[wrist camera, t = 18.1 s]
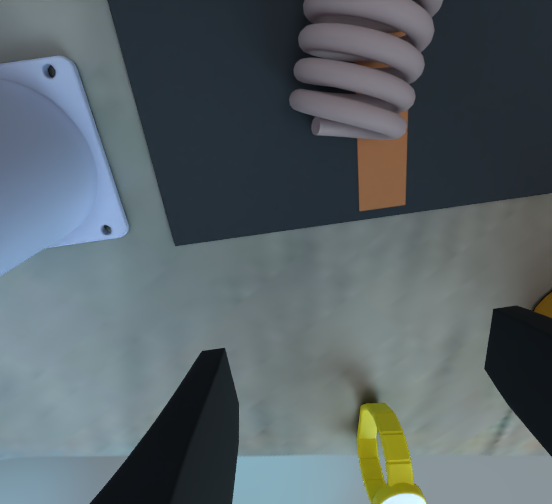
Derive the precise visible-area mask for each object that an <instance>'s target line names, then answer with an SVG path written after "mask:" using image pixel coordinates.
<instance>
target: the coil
mask: <svg viewBox="0 0 552 504" xmlns="http://www.w3.org/2000/svg"><path fill="white" fill-rule="evenodd" d="M442 2H443V0H417V1H416V2H414V1H412V0H304V4H303V10H304V15H305V16H306V18H307V19H308V20H309V21H310V22H311V23H313V24H311V25H307V26H306V27H305V28H304V29H303V30H302V31H301V32H300V34H299V37H298V41H299V46H300V48H301V49H302V51H304V52H305V53H308V54H310V55H313V56H316V57H320V58H303V59H300V60H299V61H298V62H297V63H296V64H295V66H294V69H293V70H294V76H295V77H296V79H297V80H298V81H300V82H303V83H307V84H313V85H321V86H329V87H335V88H339V89H344V90H348V91H352V92H356V93H360V94H342V93H330V92H321V91H313V90H306V89H296V90H294V91H293V92H292V93H291V95H290V98H289V102H290V105H291V107H292V108H293V109H294V110H297V111H299V112H302V113H305V114H309V115H312V116H316V117H315V118H314V119H313V121H312V125H311V130H312V133H313V134H314V135H320V136H336V137H349V138H362V139H376V140H395V139H398V138H401V137H402V136H403V135H404V134H405V132H406V129H407V124H406V120H405V119H404V118H403V117H401V116H400V115H399V114H397V113H401V112H404V111H407V110H408V109H409V108H410V107H411V106H412V105H413V104H414V101H415V97H416V96H415V91H414V89H413V88H412V87H411V86H410V85H409V84H410V83H413V82H414V81H416V80H417V79H418V78H419V77H420V75H421V74H422V72H423V69H424V65H425V63H424V58H423V55H422V54H421V52H422V51H423V50H424V49H425V48H426V47H427V46H428V45H429V44H430V42H431V41H432V37H433V34H434V25H433V20H432V17H433V16H434V15H435V14H436V13H437V12H438V11H439V9H440V7H441V5H442ZM400 31H402V32H403V33H405V34H406V35H404V36H402V37H396V36H394V35H391V34H388V33H395V32H400ZM324 58H325V59H324ZM344 61H348V62H344ZM349 62H380V63H383V64H385V65H388V66H390V67H384V68H370V67H366V66H362V65H358V64H354V63H349ZM361 94H364V95H361Z"/></svg>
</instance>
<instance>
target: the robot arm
mask: <svg viewBox="0 0 552 504" xmlns="http://www.w3.org/2000/svg"><path fill="white" fill-rule="evenodd" d="M51 65H52V66H53V67H54V69H55V71H56V75H55V77H53V78H52V77H50V75H49V73H48V68H49V66H51ZM104 225H108V226H109V227H110V228H111V229H112V232H107V231H106V230H105V228H104ZM128 230H129V225H128V222H127V219H126V216H125V213H124V210H123V206H122V203H121V200H120V197H119V194H118V191H117V188H116V185H115V182H114V179H113V176H112V173H111V170H110V167H109V164H108V161H107V158H106V155H105V152H104V149H103V146H102V142H101V139H100V136H99V133H98V130H97V127H96V124H95V121H94V118H93V115H92V112H91V109H90V106H89V103H88V100H87V97H86V94H85V91H84V88H83V85H82V82H81V79H80V75H79V72H78V69H77V67H76V65H75V64H74V63H73V61H72V60H70V59H68V58H66V57H63V56H51V57H44V58H37V59H30V60H23V61H16V62H9V63H2V64H0V276H1V275H3V274H5V273H6V272H8V271H9V270H11V269H13V268H14V267H16V266H17V265H19V264H21V263H22V262H24V261H26V260H27V259H29V258H30V257H32V256H34V255H35V254H37V253H38V252H40V251H42V250H43V249H45V248H49V247H56V246H63V245H71V244H78V243H85V242H92V241H99V240H106V239H113V238H120V237H123V236H124V235H125V234H126V233H127V232H128ZM484 369H485V370H486V372H487V374H488V375H489V377H490V378H491V380H492V381H493V383H494V385H495V386H496V388H497V389H498V391H499V392H500V394H501V395H502V396H503V398H504V399H505V401H506V402H507V404H508V405H509V406H510V408H511V409H512V410H513V411H514V413H515V414H516V415H517V416H518V417H519V419H520V420H521V421H522V422H523V423H524V425H525V426H526V427H527V428H528V429H529V431H530V432H531V433H532V434H533V435H534V437H535V438H536V439H537V440H538V441H539V442H540V444H541V445H542V446H543V447H544V448H545V449H546V451H547V452H548V453H549V454H550V455H551V456H552V318H550V317H547V316H545V315H542V314H539V313H537V312H534V311H531V310H528V309H525V308H522V307H519V306H511V307H504V308H497V309H493V315H492V322H491V328H490V335H489V341H488V348H487V354H486V361H485V368H484ZM238 444H239V402H238V398H237V394H236V390H235V386H234V382H233V378H232V374H231V370H230V366H229V362H228V358H227V354H226V350H225V348H220V349H213V350H206V351H202V352H201V353H200V355H199V356H198V358H197V359H196V361H195V362H194V364H193V365H192V367H191V369H190V370H189V372H188V373H187V375H186V376H185V378H184V379H183V381H182V382H181V384H180V385H179V387H178V389H177V390H176V392H175V393H174V395H173V396H172V397H171V399H170V400H169V402H168V403H167V405H166V406H165V408H164V409H163V410H162V412H161V413H160V415H159V416H158V418H157V419H156V420H155V422H154V423H153V425H152V426H151V427H150V429H149V430H148V431H147V433H146V434H145V435H144V437H143V438H142V439H141V441H140V442H139V443H138V445H137V446H136V447H135V449H134V450H133V451H132V453H131V454H130V455H129V456H128V458H127V459H126V460H125V462H124V463H123V464H122V466H121V467H120V468H119V469H118V470H117V472H116V473H115V474H114V475H113V477H112V478H111V479H110V480H109V481H108V483H107V484H106V485H105V486H104V487H103V489H102V490H101V491H100V492H99V494H98V495H97V496H96V497H95V498H94V499H93V500H92V502H91V503H90V504H232V499H233V490H234V481H235V472H236V463H237V454H238Z"/></svg>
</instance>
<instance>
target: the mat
mask: <svg viewBox="0 0 552 504" xmlns="http://www.w3.org/2000/svg"><path fill="white" fill-rule="evenodd" d="M412 1H414V2H416V1H417V0H412ZM108 3H109V7H110V11H111V14H112V18H113V22H114V25H115V29H116V32H117V36H118V40H119V43H120V47H121V51H122V54H123V58H124V62H125V65H126V69H127V72H128V76H129V80H130V83H131V87H132V91H133V94H134V98H135V101H136V105H137V109H138V112H139V116H140V120H141V123H142V127H143V131H144V134H145V138H146V141H147V145H148V149H149V152H150V156H151V160H152V163H153V167H154V170H155V174H156V178H157V181H158V185H159V189H160V192H161V196H162V200H163V203H164V207H165V210H166V214H167V218H168V221H169V225H170V229H171V232H172V236H173V239H174V243H175V246H179V245H186V244H193V243H201V242H208V241H215V240H222V239H229V238H236V237H243V236H250V235H257V234H264V233H271V232H279V231H286V230H293V229H300V228H307V227H314V226H321V225H328V224H335V223H342V222H349V221H357V220H364V219H371V218H378V217H385V216H392V215H399V214H406V213H413V212H420V211H427V210H434V209H442V208H449V207H456V206H463V205H470V204H477V203H484V202H491V201H498V200H505V199H512V198H520V197H527V196H534V195H541V194H548V193H552V0H443V2H442V5H441V7H440V9H439V11H438V12H437V13H436V14H435V15H434V16H433V17H432V20H433V25H434V34H433V37H432V41H431V42H430V44H429V45H428V46H427V47H426V48H425V49H424V50H423V51H422V52H421V54H422V55H423V58H424V63H425V65H424V69H423V72H422V74H421V75H420V77H419V78H418V79H417V80H416V81H414V82H413V83H410V84H409V85H410V86H411V87H412V88H413V89H414V91H415V96H416V97H415V101H414V104H413V105H412V106H411V107H410V108H409V109H408V110H407V111H404V112H401V113H397V114H399V115H400V116H401V117H403V118H404V119H405V120H406V124H407V129H406V132H405V134H404V135H403V136H402V137H401V138H398V139H395V140H376V139H362V138H349V137H336V136H320V135H314V134H313V133H312V130H311V125H312V121H313V119H314V118H315V117H316V116H312V115H309V114H305V113H302V112H299V111H297V110H294V109H293V108H292V107H291V105H290V102H289V98H290V95H291V93H292V92H293V91H294V90H296V89H306V90H313V91H321V92H330V93H342V94H360V93H356V92H352V91H348V90H344V89H339V88H335V87H329V86H321V85H313V84H307V83H303V82H300V81H298V80H297V79H296V77H295V76H294V70H293V69H294V66H295V64H296V63H297V62H298V61H299V60H300V59H303V58H320V57H316V56H313V55H310V54H308V53H305V52H304V51H302V49H301V48H300V46H299V41H298V37H299V34H300V32H301V31H302V30H303V29H304V28H305V27H306V26H307V25H311V24H313V23H311V22H310V21H309V20H308V19H307V18H306V16H305V15H304V10H303V4H304V0H108ZM388 34H391V35H394V36H396V37H402V36H404V35H406V34H405V33H403V32H402V31H400V32H395V33H388ZM324 59H325V58H324ZM344 62H348V61H344ZM349 63H354V64H358V65H362V66H366V67H370V68H384V67H390V66H388V65H385V64H383V63H380V62H349ZM361 95H364V94H361Z"/></svg>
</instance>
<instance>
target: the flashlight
mask: <svg viewBox="0 0 552 504" xmlns="http://www.w3.org/2000/svg"><path fill="white" fill-rule="evenodd" d="M534 312H537V313H539V314H542V315H545V316H547V317H550V318H552V292H551V293H550V294H549V295H547V296H546V297H545V298H544V299H543V300H542V301H541V302H540V303H539V304H538V305H537V306H536V308H535V310H534Z"/></svg>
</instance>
